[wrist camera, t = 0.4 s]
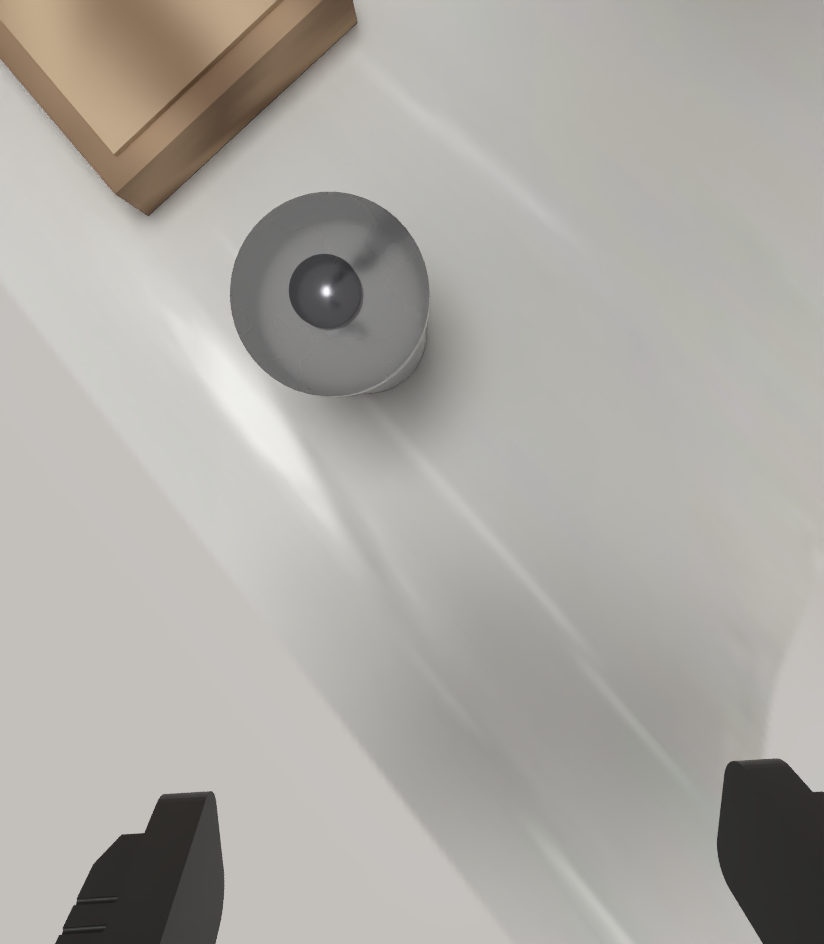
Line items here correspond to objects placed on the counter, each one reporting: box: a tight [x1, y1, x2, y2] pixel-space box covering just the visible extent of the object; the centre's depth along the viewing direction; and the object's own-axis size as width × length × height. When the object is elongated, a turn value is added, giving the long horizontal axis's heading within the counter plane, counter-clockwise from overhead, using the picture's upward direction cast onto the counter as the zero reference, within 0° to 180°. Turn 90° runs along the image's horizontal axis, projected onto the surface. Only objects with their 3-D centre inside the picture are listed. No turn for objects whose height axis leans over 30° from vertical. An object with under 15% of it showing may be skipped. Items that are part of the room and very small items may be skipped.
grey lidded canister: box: [230, 192, 430, 397], centre depth 24 cm, size 6×6×11 cm
